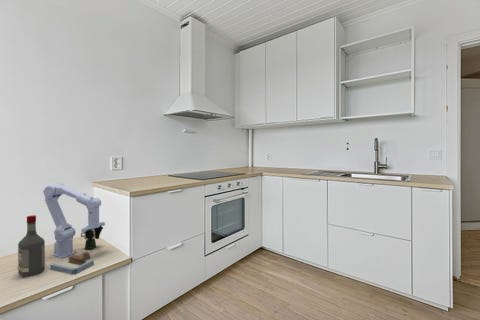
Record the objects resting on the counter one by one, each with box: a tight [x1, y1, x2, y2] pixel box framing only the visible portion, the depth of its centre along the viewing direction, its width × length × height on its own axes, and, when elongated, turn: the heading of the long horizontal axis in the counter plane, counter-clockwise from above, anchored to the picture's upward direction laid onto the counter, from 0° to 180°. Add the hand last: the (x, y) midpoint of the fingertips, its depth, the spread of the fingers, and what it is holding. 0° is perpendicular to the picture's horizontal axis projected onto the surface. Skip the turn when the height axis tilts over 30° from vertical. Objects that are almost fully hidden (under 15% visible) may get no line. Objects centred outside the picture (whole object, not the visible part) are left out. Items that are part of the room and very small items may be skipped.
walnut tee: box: [68, 251, 91, 266], centre depth 135 cm, size 8×9×4 cm
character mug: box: [80, 229, 97, 250], centre depth 152 cm, size 11×7×13 cm, turn 113°
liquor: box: [17, 214, 46, 278], centre depth 120 cm, size 9×9×30 cm
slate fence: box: [49, 259, 95, 275], centre depth 128 cm, size 17×12×2 cm
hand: (93, 240), depth 142 cm, fingers open, 4 cm apart
